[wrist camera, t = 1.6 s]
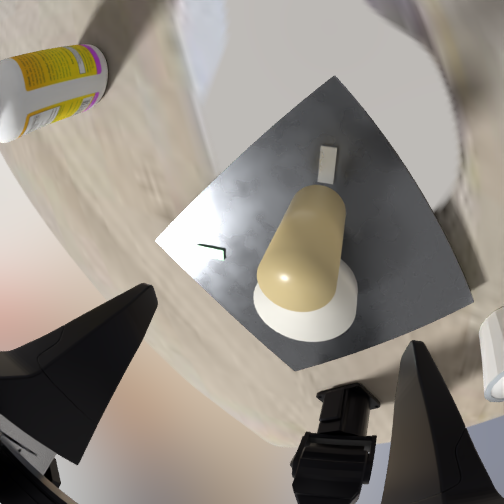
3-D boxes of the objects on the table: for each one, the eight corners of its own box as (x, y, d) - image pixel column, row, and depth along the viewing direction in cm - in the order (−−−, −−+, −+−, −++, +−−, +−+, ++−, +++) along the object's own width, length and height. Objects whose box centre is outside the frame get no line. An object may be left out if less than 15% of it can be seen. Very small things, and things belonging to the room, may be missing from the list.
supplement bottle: (72, 40, 18) (-47, 69, 8) (118, 47, 18) (-23, 75, 8) (62, 102, 22) (-45, 148, 12) (104, 117, 22) (-18, 174, 12)
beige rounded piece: (346, 329, 22) (331, 417, 16) (261, 311, 24) (225, 391, 18) (384, 185, 15) (399, 267, 9) (264, 166, 17) (204, 231, 11)
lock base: (470, 290, 20) (478, 316, 17) (297, 360, 32) (291, 383, 29) (335, 75, 15) (331, 75, 13) (164, 232, 27) (145, 250, 25)
